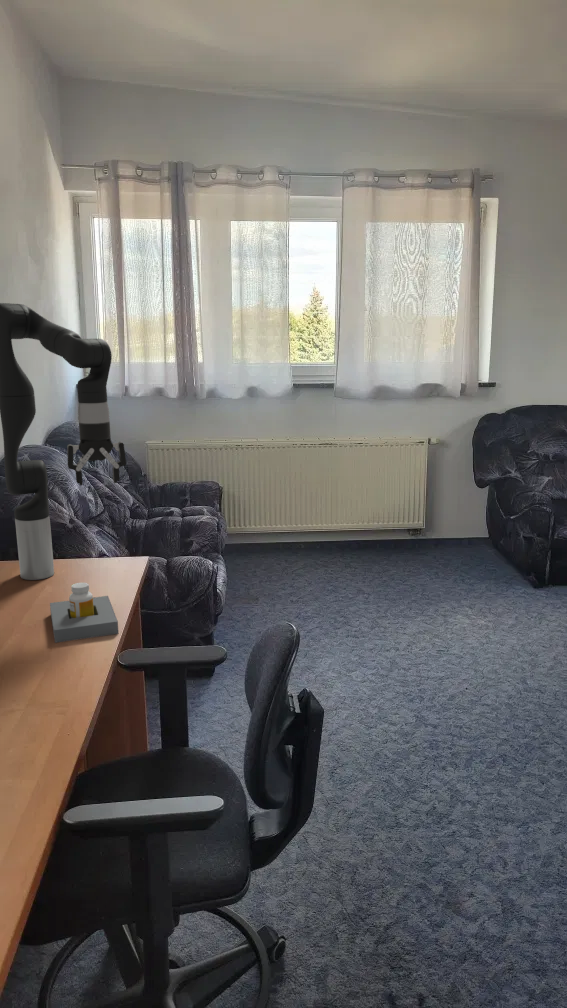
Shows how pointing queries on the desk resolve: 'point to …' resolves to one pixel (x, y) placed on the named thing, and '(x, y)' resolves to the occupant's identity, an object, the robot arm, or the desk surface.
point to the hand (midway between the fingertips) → (98, 483)
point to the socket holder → (83, 621)
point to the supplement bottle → (81, 601)
